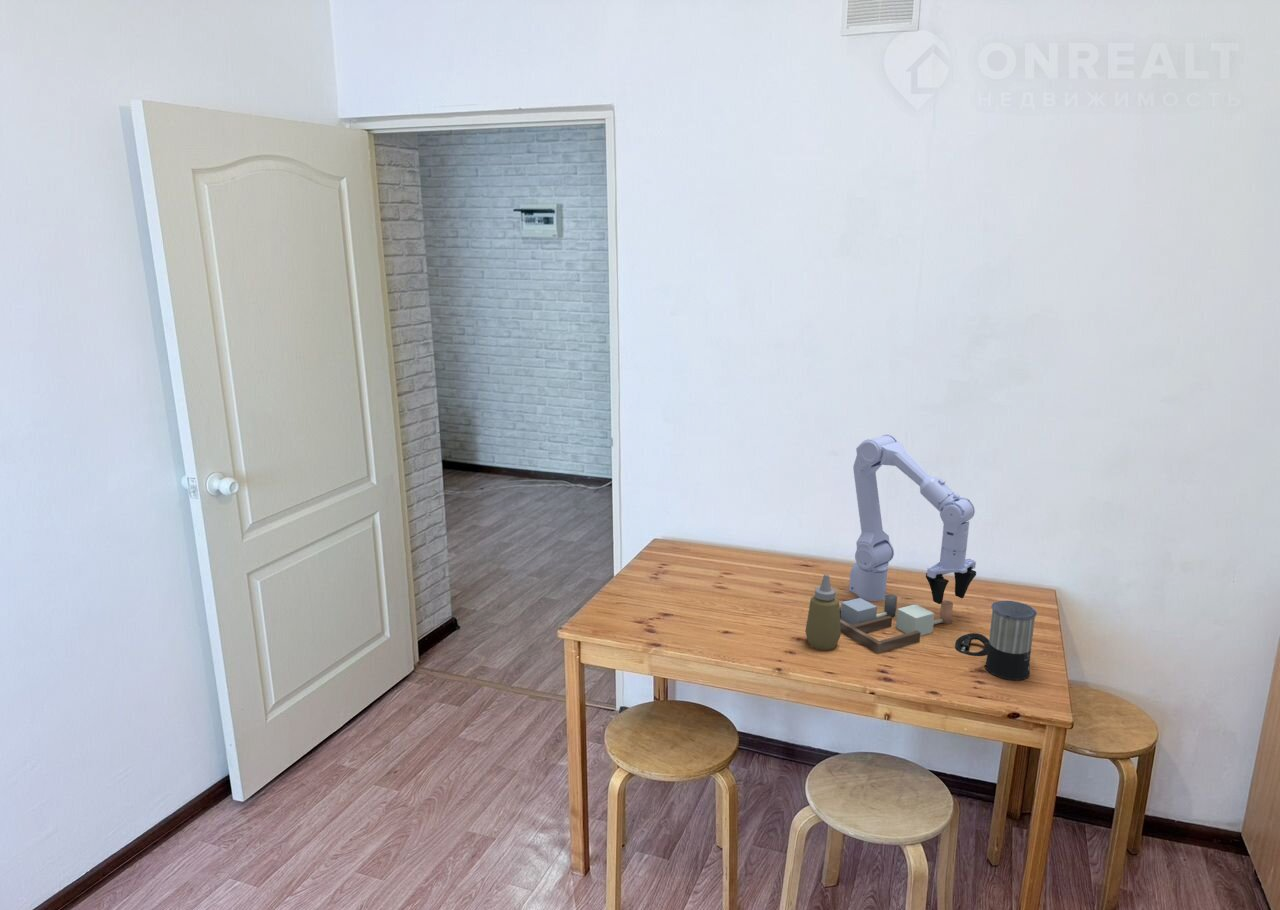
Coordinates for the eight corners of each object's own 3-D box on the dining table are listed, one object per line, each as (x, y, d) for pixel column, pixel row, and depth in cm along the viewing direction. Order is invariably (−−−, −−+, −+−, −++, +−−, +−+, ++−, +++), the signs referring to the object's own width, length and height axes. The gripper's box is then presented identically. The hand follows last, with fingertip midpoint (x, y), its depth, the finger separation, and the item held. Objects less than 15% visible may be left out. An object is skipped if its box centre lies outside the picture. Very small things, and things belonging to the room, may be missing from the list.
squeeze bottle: (833, 658, 186) (837, 584, 182) (799, 649, 191) (803, 577, 186) (844, 644, 193) (849, 573, 189) (811, 636, 197) (815, 566, 193)
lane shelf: (821, 624, 204) (822, 611, 203) (904, 602, 216) (905, 591, 216) (877, 657, 187) (878, 644, 186) (964, 632, 200) (965, 619, 199)
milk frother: (1030, 684, 175) (1038, 621, 172) (951, 670, 181) (958, 608, 178) (1028, 656, 188) (1036, 595, 184) (955, 643, 194) (961, 584, 191)
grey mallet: (840, 620, 204) (841, 602, 202) (885, 609, 210) (886, 591, 209) (856, 630, 198) (858, 611, 197) (902, 618, 205) (904, 599, 204)
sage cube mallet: (895, 627, 200) (897, 608, 199) (939, 615, 207) (941, 597, 205) (914, 637, 195) (916, 618, 194) (958, 625, 201) (960, 606, 200)
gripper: (945, 557, 192) (939, 611, 196) (988, 548, 199) (982, 600, 202) (922, 548, 198) (917, 600, 202) (964, 539, 205) (959, 589, 208)
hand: (948, 599), depth 202 cm, fingers open, 7 cm apart
